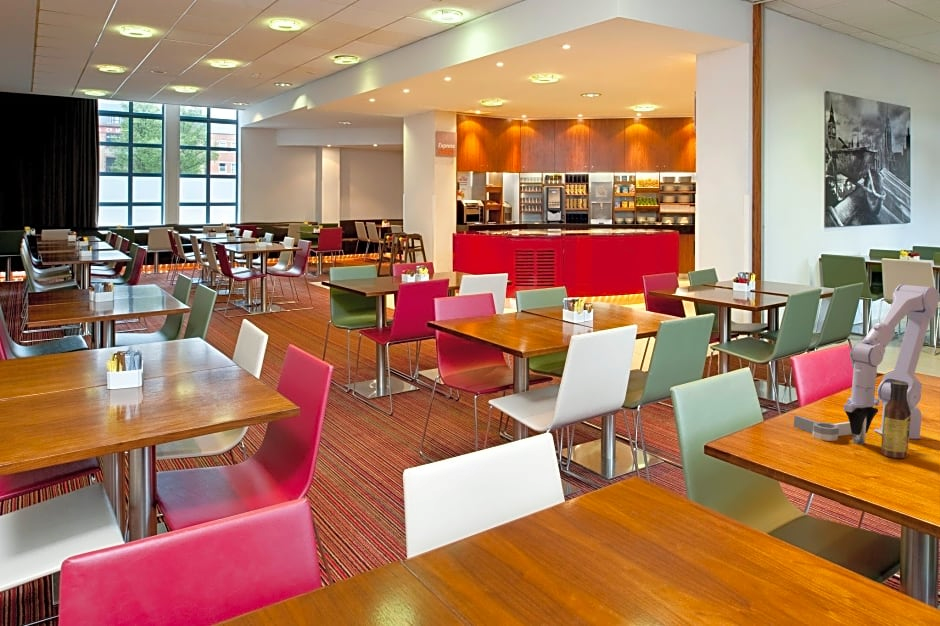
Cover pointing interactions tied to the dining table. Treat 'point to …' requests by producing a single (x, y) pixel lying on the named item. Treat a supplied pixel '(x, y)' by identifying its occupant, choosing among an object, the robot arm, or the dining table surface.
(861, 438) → the hinge pin
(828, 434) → the hinge
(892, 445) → the sauce bottle
